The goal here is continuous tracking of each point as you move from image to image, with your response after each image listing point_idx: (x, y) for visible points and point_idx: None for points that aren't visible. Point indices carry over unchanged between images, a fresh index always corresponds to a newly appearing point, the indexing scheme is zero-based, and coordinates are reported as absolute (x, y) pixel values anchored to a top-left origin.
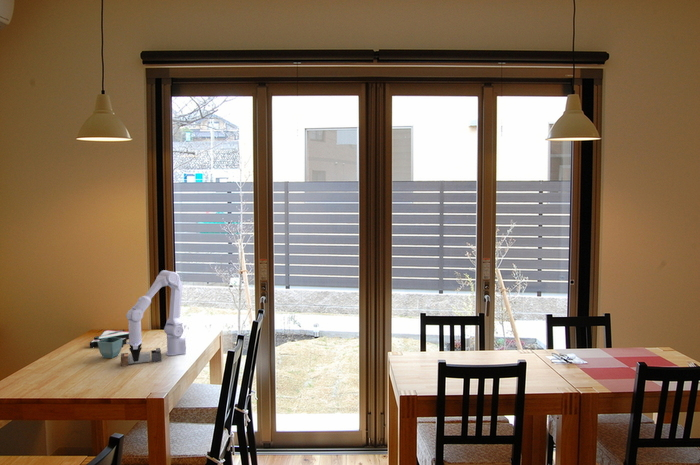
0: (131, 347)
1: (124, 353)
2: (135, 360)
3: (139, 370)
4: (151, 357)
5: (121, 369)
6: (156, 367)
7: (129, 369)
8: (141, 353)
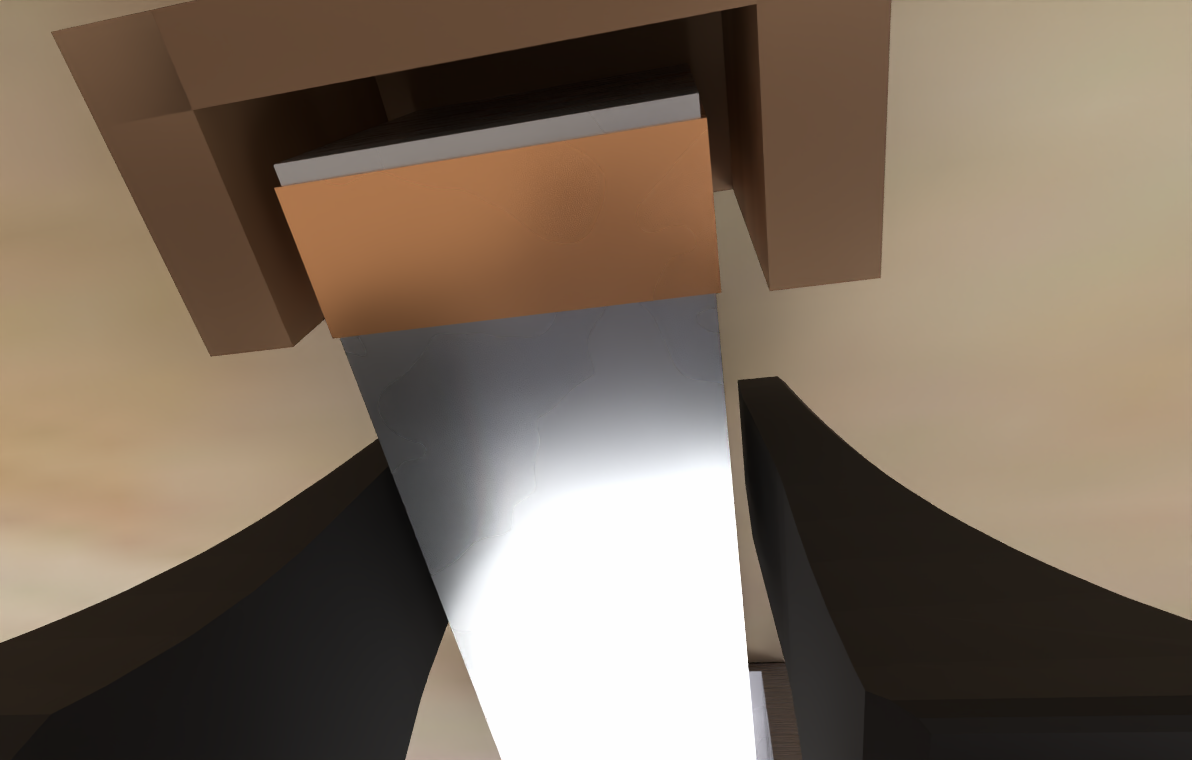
0: (830, 659)
1: (803, 97)
2: None
3: (45, 512)
4: (790, 695)
5: (23, 106)
6: None
7: (65, 319)
8: (612, 705)
